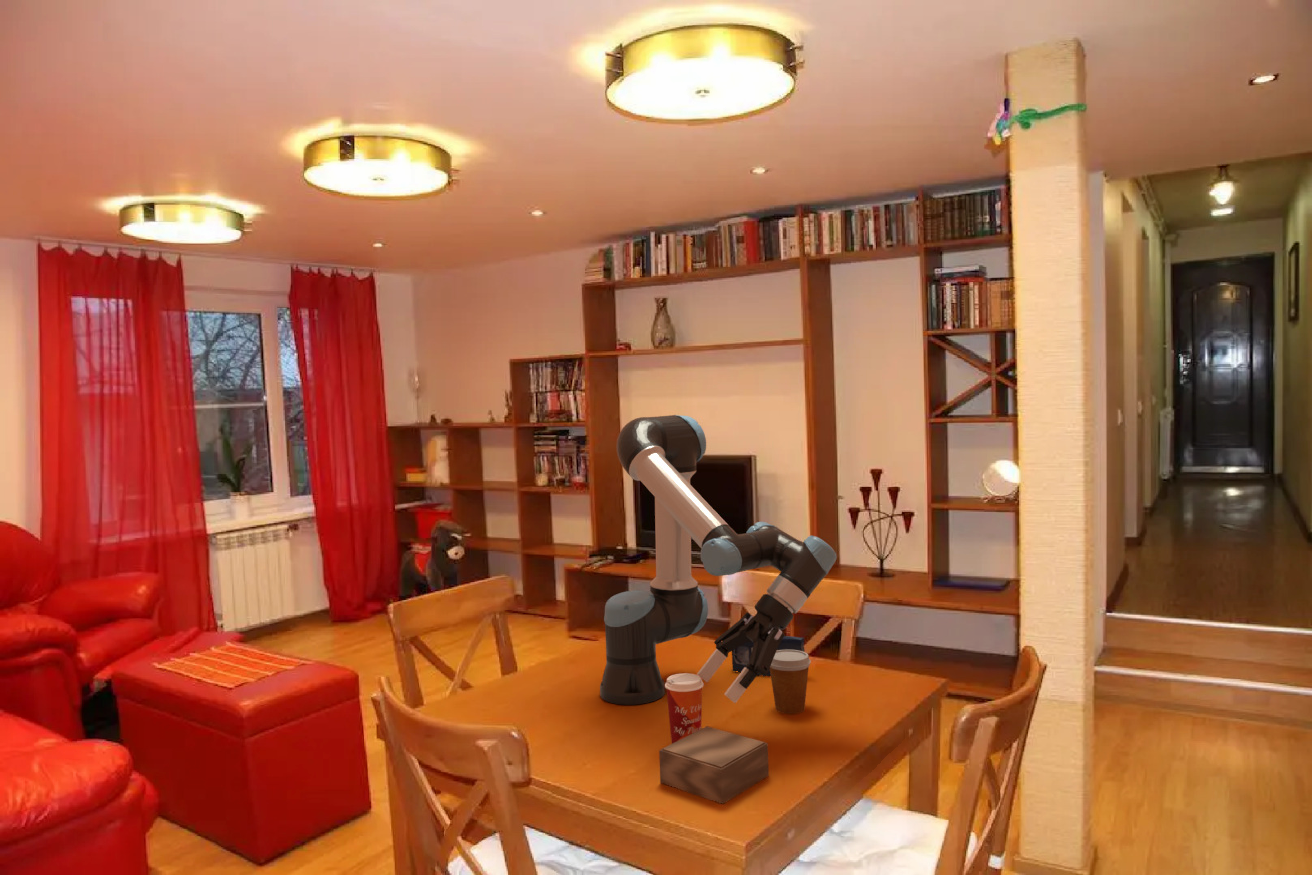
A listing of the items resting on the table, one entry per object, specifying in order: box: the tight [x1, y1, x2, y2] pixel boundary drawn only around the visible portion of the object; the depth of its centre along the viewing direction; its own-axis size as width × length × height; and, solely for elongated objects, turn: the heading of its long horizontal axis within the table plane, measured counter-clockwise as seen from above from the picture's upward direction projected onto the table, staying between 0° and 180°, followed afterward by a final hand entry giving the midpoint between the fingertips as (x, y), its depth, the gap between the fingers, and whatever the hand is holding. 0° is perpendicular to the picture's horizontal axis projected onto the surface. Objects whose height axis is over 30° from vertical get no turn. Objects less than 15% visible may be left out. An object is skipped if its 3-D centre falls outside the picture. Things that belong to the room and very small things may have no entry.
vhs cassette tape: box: [731, 635, 805, 677], centre depth 219 cm, size 18×3×10 cm, turn 61°
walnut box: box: [658, 725, 769, 805], centre depth 161 cm, size 14×14×6 cm
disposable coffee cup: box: [770, 650, 812, 715], centre depth 195 cm, size 10×10×12 cm
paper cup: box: [664, 672, 705, 744], centre depth 176 cm, size 8×8×14 cm
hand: (715, 688), depth 176 cm, fingers open, 13 cm apart
